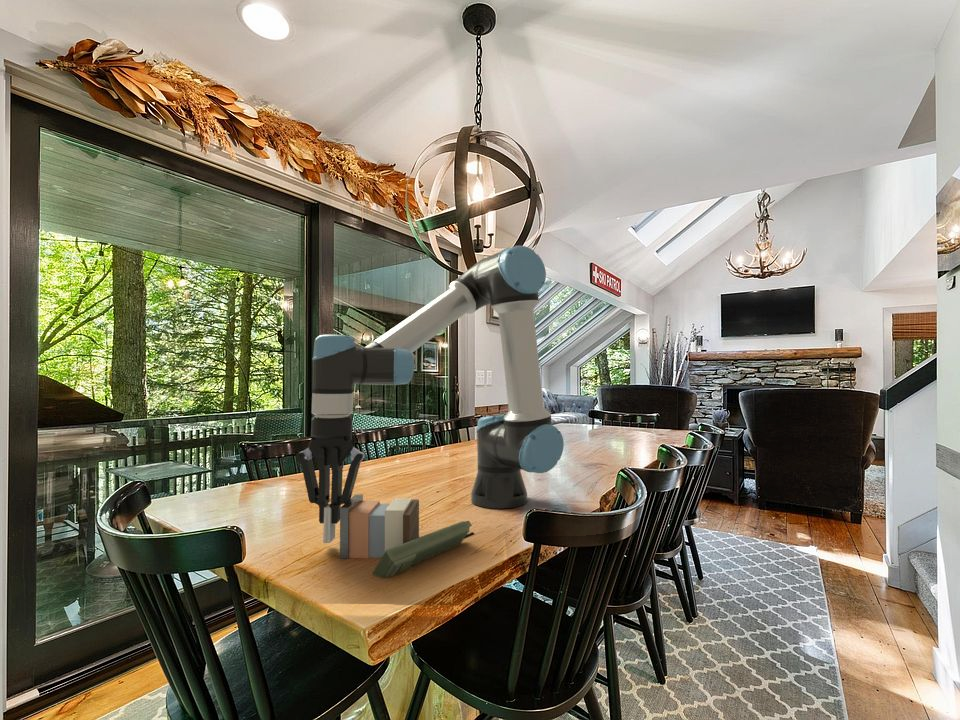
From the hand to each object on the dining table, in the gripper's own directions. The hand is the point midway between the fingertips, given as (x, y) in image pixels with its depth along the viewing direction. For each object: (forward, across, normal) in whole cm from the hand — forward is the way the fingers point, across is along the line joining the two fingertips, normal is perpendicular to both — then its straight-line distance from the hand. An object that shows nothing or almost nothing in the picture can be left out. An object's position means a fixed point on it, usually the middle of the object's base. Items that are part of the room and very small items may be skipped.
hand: (329, 540), depth 85 cm
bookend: (+2, -4, 0) cm, 5 cm away
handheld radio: (+3, -19, +1) cm, 19 cm away
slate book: (+1, -10, 0) cm, 10 cm away
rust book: (+2, -7, 0) cm, 7 cm away
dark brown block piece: (+3, -6, 0) cm, 6 cm away
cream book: (+1, -13, 0) cm, 13 cm away
